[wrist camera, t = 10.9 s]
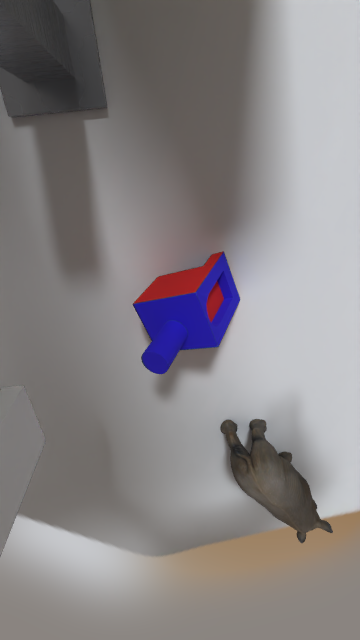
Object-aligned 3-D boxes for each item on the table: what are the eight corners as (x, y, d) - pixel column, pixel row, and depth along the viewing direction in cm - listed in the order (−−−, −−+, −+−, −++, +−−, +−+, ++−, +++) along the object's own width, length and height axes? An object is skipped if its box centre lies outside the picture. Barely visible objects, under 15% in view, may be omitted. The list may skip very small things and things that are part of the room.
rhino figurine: (287, 503, 32) (312, 570, 27) (211, 426, 27) (223, 491, 22) (323, 485, 32) (357, 551, 26) (251, 402, 26) (274, 464, 21)
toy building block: (168, 265, 22) (106, 332, 16) (224, 251, 20) (174, 323, 14) (187, 307, 24) (136, 383, 18) (240, 299, 22) (202, 382, 16)
